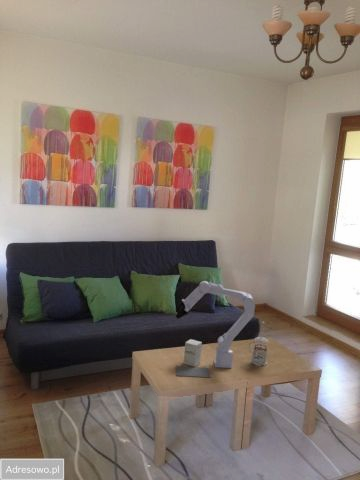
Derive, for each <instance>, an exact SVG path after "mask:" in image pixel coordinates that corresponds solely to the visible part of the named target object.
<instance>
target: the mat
mask: <svg viewBox="0 0 360 480" xmlns="http://www.w3.org/2000/svg"><path fill="white" fill-rule="evenodd" d="M175 369H176V371H175V373H176V377H188V378H189V377H190V378H191V377H192V378H206V379H208V378H211V373H210V368H209V367H202V366H195V367H194V366H188V365H187V366H185V365H183V366H182V365H176V366H175Z"/></svg>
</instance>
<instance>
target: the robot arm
mask: <svg viewBox="0 0 360 480" xmlns="http://www.w3.org/2000/svg"><path fill="white" fill-rule="evenodd" d="M205 294H211V295H215V296H218V297H219V296H222V295H225V296H228V297H233V298H235V299H237V300H238V301H239V302H240V303H242V305H243V306H242V307H243V309H244V312H243V313H242V314H241V315H240V316H239V318H238V319H237V320H236V322H234V323H233V325H232V326H231V327H230V328H229V329H228V330H227V332H224V334H222V335H220V336H219V337H218V338H217V347H216V352H215V360H213V363H214V366H215V368H225V369H232V368H233V360H234V359H233V357H234V352H233V350H232V349H230V347H231V345H232V344H233V341H234V339H235V338H236V337H237V336H238V335H239V334H240V332H241V331H242V330H243V329H244V328H245V326H246V325H247V324H248V323H249V322H250V321H251V320H252V319H253V317H254V314H255V309H256V302H255V300H254V298H253V295H252V294H251V293H249V292H245V291H240V290H235V289H229V288H224V286H223V285H221V283H218V284H217V283H212V282H211V281H209V282H208V281H207V280H202V281H200V283H199V285H198V286H197V287H195V289H193V291H191V293H190V294H189V295H188V296H187V297H186V298H185V299H184V298H182V299H181V300H180V302H179V305H178V306H177V308H176V309H175V313H177V314H175V316H174V317H175V318H176V319H177V320H179V319H181V318H182V317H184V316H187V315H189V314H190V312H189V311H190V310H191V309H193V306H195V304H197V303H198V301H199V300H200V299H202V297H204V295H205Z"/></svg>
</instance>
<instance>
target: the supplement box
mask: <svg viewBox="0 0 360 480" xmlns="http://www.w3.org/2000/svg"><path fill="white" fill-rule="evenodd" d="M184 343H185V344H184V355H183V364H184V365H187V366H189V367H198V365H200V364H201V356H202V345H203V344H202V343H203V342H202V341H199V340H196V339H192V338H191V339H189V340H187V341H185V342H184Z"/></svg>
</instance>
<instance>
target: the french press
mask: <svg viewBox="0 0 360 480" xmlns="http://www.w3.org/2000/svg"><path fill="white" fill-rule="evenodd" d="M265 324H266V323H265V321H261V325H265ZM261 329H262V330H261V332H263V331H264V326H262V328H261ZM253 339H254V340H252V341H250V342H249V344H248V350H249V352H250V353H251V354H252V357H251V358H252V359H251V360H250V363H251V362H252V363H253V364H252V363H251V364H252V365H254V364H255V365H254V366H257V365H260V366H259V367H262V366H261V365H266V364H267V365H268V362H267V355H268V349H267V348H268V347H267V346H266V345H264V344H268V343H269V340H268V339H267V338H266V337H263V336H257V337H255V338H253ZM252 343H253V344H254V347H253V350H251V347H250V346H251V344H252ZM255 343H256V344H255ZM257 343H258V344H257ZM267 365H266V366H267Z"/></svg>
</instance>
